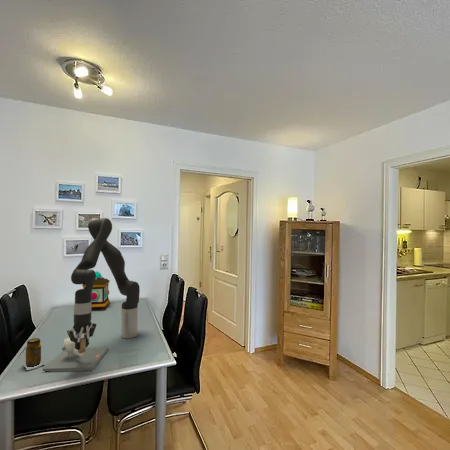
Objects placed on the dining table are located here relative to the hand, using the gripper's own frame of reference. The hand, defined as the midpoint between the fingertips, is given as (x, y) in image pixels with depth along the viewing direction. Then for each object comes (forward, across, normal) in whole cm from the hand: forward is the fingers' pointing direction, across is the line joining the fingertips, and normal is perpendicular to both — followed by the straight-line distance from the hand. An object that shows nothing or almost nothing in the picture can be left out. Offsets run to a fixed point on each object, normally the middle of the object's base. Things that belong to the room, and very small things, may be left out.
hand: (81, 348), depth 133 cm
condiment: (+9, +12, -20) cm, 25 cm away
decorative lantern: (+7, -62, -80) cm, 101 cm away
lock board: (+9, -3, -7) cm, 12 cm away
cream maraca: (+4, -1, -6) cm, 7 cm away
